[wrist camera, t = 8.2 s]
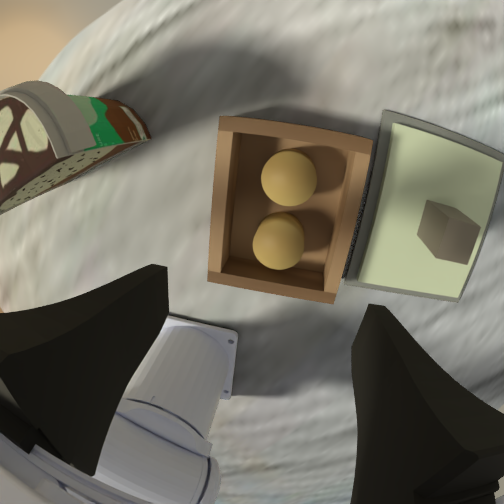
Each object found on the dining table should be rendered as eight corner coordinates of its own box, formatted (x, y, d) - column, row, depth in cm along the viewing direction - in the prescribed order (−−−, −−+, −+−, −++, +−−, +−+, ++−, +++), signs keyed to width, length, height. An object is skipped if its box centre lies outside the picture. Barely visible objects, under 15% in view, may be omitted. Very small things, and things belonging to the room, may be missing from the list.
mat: (456, 300, 20) (457, 302, 19) (343, 282, 21) (344, 284, 20) (504, 154, 14) (506, 155, 14) (382, 109, 15) (383, 109, 15)
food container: (144, 52, 16) (37, 29, 7) (170, 130, 18) (65, 152, 9) (36, 128, 19) (-56, 152, 10) (55, 190, 22) (-33, 234, 13)
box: (330, 280, 21) (333, 304, 18) (219, 260, 22) (207, 281, 19) (362, 136, 16) (373, 140, 14) (232, 116, 17) (219, 115, 15)
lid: (455, 293, 19) (475, 325, 16) (356, 277, 20) (365, 311, 16) (498, 160, 15) (532, 173, 11) (392, 123, 15) (415, 125, 12)
